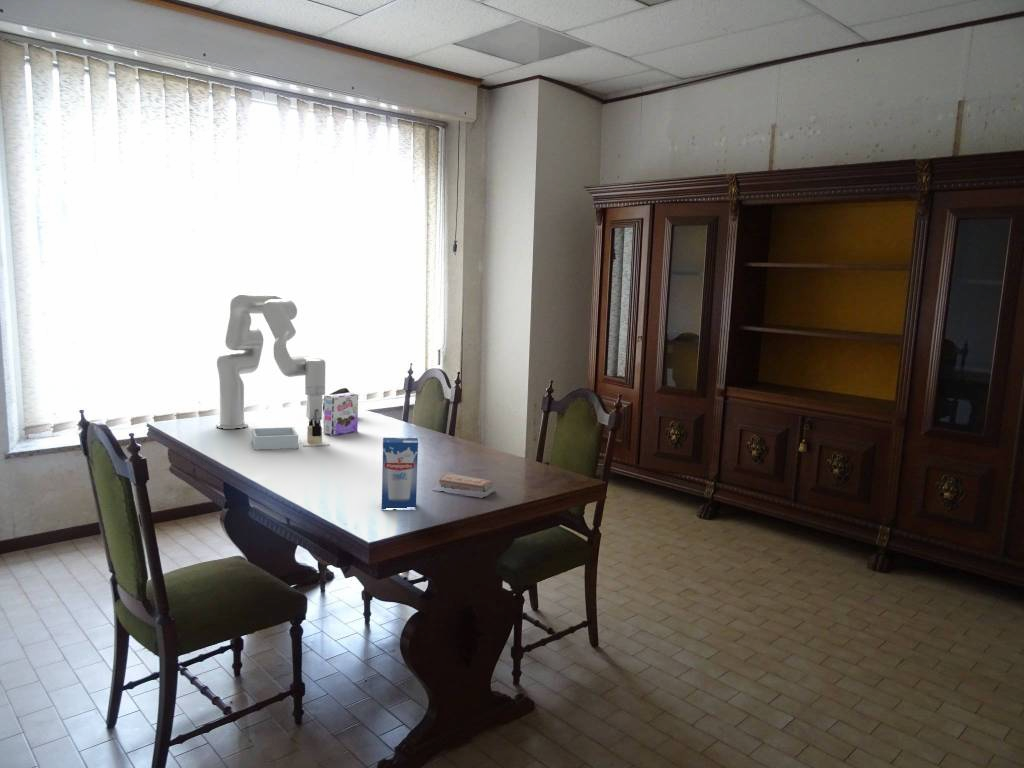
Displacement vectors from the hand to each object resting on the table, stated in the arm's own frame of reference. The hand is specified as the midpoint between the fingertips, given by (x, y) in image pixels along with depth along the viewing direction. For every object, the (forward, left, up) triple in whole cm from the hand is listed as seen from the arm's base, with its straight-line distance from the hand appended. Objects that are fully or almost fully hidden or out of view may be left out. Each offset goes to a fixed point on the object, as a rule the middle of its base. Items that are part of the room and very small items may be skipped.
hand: (314, 433), depth 289 cm
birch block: (0, 0, -3) cm, 3 cm away
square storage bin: (0, -15, -4) cm, 15 cm away
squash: (-49, +18, -4) cm, 52 cm away
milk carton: (+87, +12, -4) cm, 88 cm away
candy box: (-17, +13, -4) cm, 22 cm away
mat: (0, 0, -4) cm, 4 cm away
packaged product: (+76, +36, -4) cm, 84 cm away
